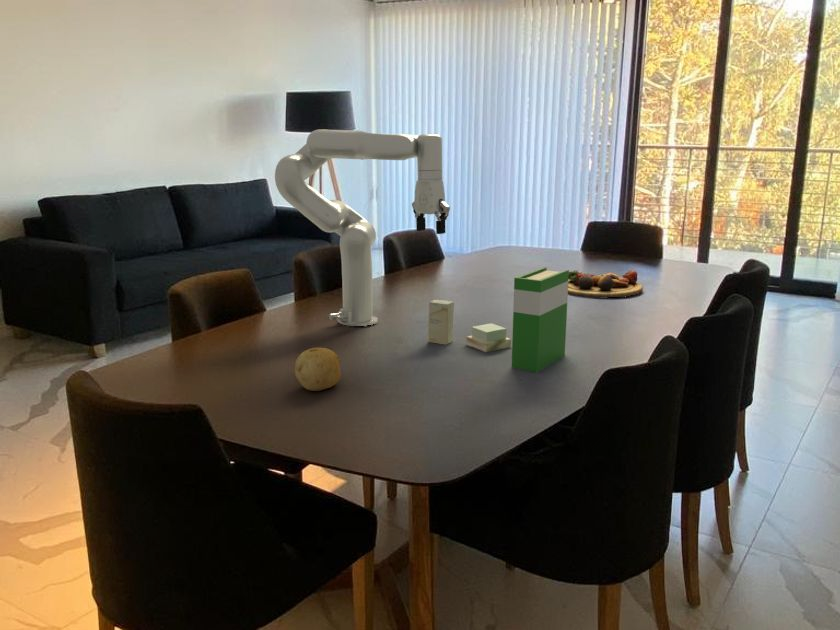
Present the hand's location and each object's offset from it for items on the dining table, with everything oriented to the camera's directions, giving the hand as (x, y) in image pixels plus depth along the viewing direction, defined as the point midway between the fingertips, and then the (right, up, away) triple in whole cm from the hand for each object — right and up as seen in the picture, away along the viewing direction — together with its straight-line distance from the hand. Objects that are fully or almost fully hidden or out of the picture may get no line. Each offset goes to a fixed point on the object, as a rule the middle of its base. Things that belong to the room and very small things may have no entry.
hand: (430, 232), depth 240 cm
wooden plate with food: (+66, -17, +59) cm, 90 cm away
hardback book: (+29, -38, -30) cm, 56 cm away
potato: (-28, -43, -51) cm, 73 cm away
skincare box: (+3, -34, -12) cm, 36 cm away
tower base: (+16, -35, -16) cm, 42 cm away
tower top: (+16, -32, -17) cm, 40 cm away
